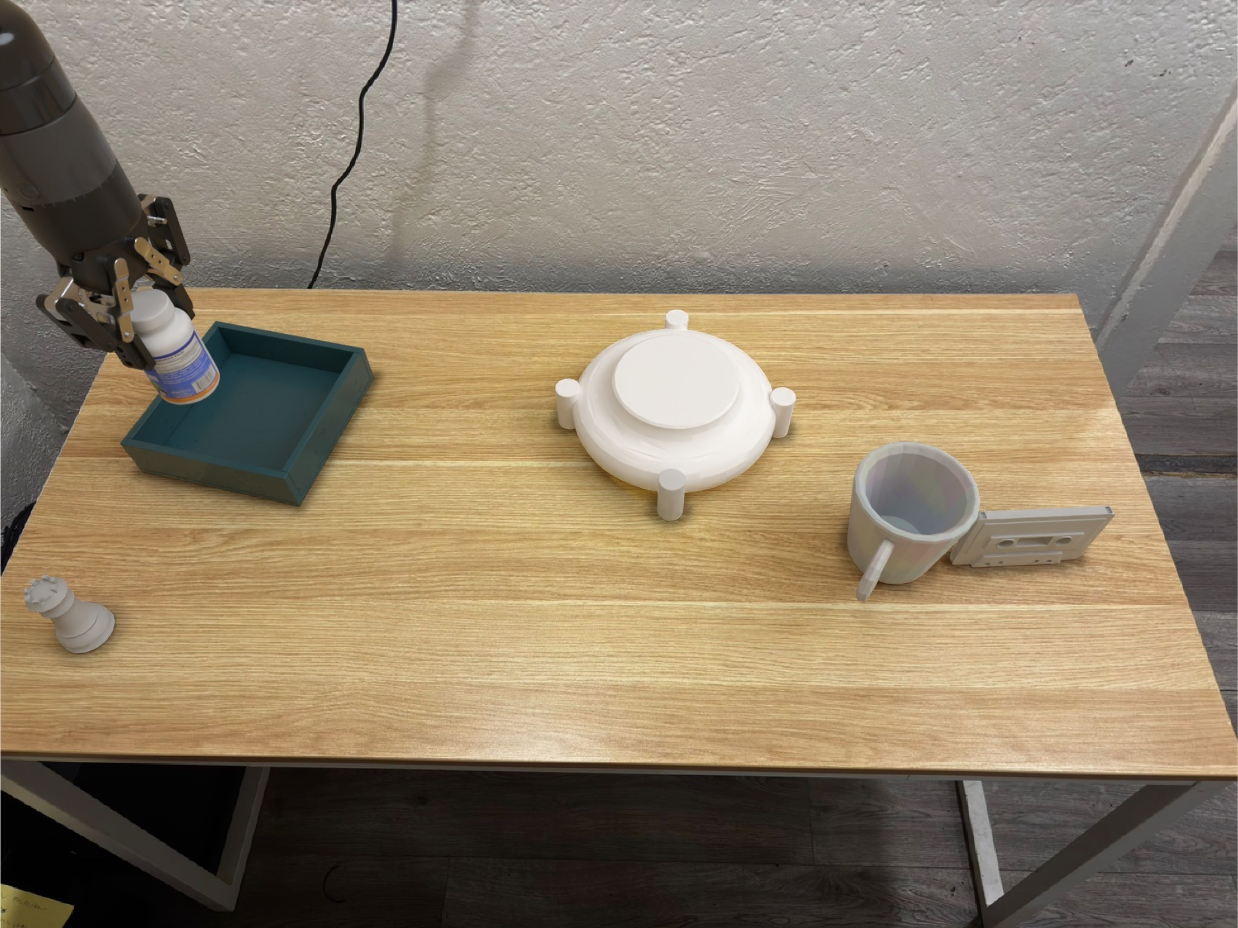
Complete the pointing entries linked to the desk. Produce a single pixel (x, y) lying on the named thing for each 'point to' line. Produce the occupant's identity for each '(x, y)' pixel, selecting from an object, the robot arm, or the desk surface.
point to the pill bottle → (173, 349)
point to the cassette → (1030, 536)
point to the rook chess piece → (69, 614)
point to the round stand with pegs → (674, 411)
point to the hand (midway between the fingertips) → (164, 341)
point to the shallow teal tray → (256, 415)
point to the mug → (907, 512)
